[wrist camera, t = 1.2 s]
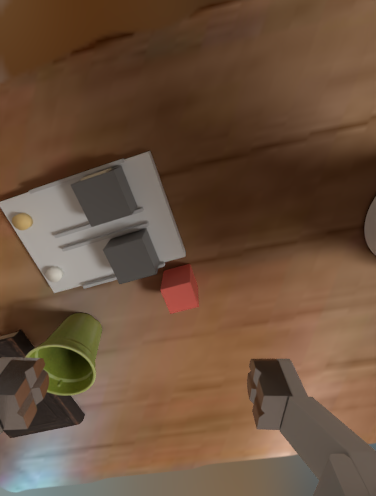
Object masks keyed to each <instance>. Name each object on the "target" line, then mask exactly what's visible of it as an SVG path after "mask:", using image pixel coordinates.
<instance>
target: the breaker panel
mask: <svg viewBox="0 0 376 496" xmlns="http://www.w3.org/2000/svg"><path fill="white" fill-rule="evenodd" d="M120 166H122V169H123V171H124V174H125V176H126V179H127V181H128V184H129V186H130V189H131V191H132V194H133V196H134V199H135V201H136V203H137V208H136V209H135V211H134V213H133V214H132V215H129V216H126V217H123V218H120V219H116V220H113V221H110V222H107V223H103V224H100V225H97V226H94V227H91V225H90V223H89V221H88V219H87V217H86V215H85V213H84V211H83V209H82V207H81V205H80V203H79V201H78V199H77V197H76V195H75V193H74V191H73V189H72V187H71V184H73V183H75V182H77V181H79V180H81V178H83V177H86V176H88V175H91V174H94V173H97V172H100V171H103V170H106V169H109V168H111V169H114V168H117V167H120ZM0 208H1V209H2V211H3V212H4V214H5V216H6V217H7V219H8V220H9V222H10V223H11V225H12V227H13V228H14V230H15V231H16V233H17V235H18V236H19V238H20V239H21V241H22V242H23V244H24V246H25V247H26V249H27V250H28V252H29V254H30V255H31V257H32V258H33V260H34V262H35V263H36V265H37V266H38V268H39V269H40V271H41V273H42V274H43V276H44V277H45V279H46V281H47V282H48V284H49V285H50V287H51V288H52V290H53V292H54V293H56V292H60V291H63V290H67V289H71V288H74V287H78V286H81V285H83V288H84V289H85V288H88V287H92V286H95V285H99V284H103V283H106V282H110V281H114V280H117V278H116V276H115V274H114V272H113V270H112V268H111V266H110V264H109V262H108V260H107V258H106V256H105V254H104V252H103V249H104V247H105V246H106V245H107V243H108V242H109V240H110V239H112V238H115V237H118V236H122V235H125V234H128V233H132V232H135V231H138V230H142V229H145V228H147V231H148V233H149V236H150V238H151V241H152V243H153V246H154V248H155V251H156V253H157V256H158V258H159V261H160V263H159V267H158V268H161V267H164V266H165V262H168V261H171V260H175V259H179V258H182V257H186V251H185V248H184V245H183V243H182V240H181V237H180V234H179V231H178V228H177V225H176V223H175V220H174V217H173V214H172V211H171V208H170V205H169V203H168V200H167V197H166V194H165V191H164V188H163V185H162V183H161V180H160V177H159V174H158V171H157V168H156V165H155V163H154V160H153V157H152V154H151V151H148V152H145V153H142V154H139V155H136V156H133V157H130V158H127V159H124V158H123V159H120V160H117V161H114V162H111V163H108V164H105V165H102V166H99V167H96V168H93V169H90V170H87V171H84V172H81V173H78V174H75V175H73V176H70V177H67V178H64V179H61V180H58V181H55V182H52V183H49V184H46V185H43V186H40V187H37V188H34V189H31V190H29V192H27V193H24V194H21V195H18V196H15V197H12V198H9V199H6V200H3V201H1V202H0Z"/></svg>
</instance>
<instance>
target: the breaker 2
mask: <svg viewBox="0 0 376 496" xmlns="http://www.w3.org/2000/svg"><path fill="white" fill-rule="evenodd" d="M103 252H104V254H105V256H106V258H107V260H108V262H109V264H110V266H111V268H112V270H113V272H114V274H115V276H116V278H117V280H118V282H119V284H122V283H126V282H130V281H133V280H137V279H141V278H144V277H148V276H152V275H155V274H157V272H158V267H159V263H160V261H159V258H158V256H157V253H156V251H155V248H154V246H153V243H152V241H151V238H150V236H149V233H148V231H147V228H145V229H142V230H138V231H135V232H132V233H128V234H125V235H122V236H118V237H115V238H112V239H110V240H109V242H108V243H107V245H106V246H105V247H104V249H103Z"/></svg>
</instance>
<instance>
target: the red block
mask: <svg viewBox="0 0 376 496" xmlns="http://www.w3.org/2000/svg"><path fill="white" fill-rule="evenodd" d="M160 290H161V293H162V295H163V297H164V300H165V302H166V305H167V307H168V309H169V312H170V314H172V313H176V312H180V311H184V310H187V309H191V308H195V307H199V299H198V285H197V282H196V280H195V277H194V274H193V271H192V268H191V265H190V264H187V265H183V266H179V267H176V268H172V269H168V270H165V271H164V272H163V278H162V283H161V289H160Z"/></svg>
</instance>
